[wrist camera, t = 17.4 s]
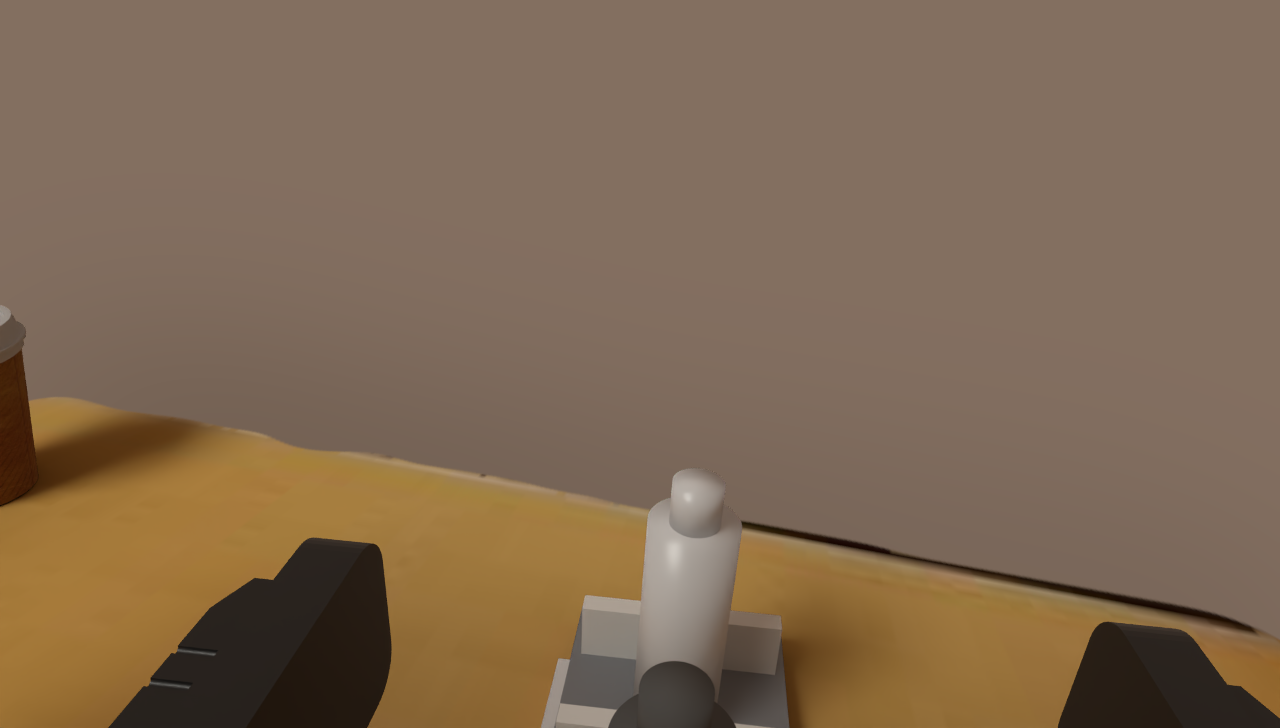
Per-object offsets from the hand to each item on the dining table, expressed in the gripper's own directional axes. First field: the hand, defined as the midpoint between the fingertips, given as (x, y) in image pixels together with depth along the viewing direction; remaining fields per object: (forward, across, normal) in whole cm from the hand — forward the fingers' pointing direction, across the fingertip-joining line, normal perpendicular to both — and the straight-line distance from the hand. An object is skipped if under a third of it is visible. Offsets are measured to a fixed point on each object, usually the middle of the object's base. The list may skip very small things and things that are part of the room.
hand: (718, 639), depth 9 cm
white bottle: (+21, 0, +24) cm, 32 cm away
